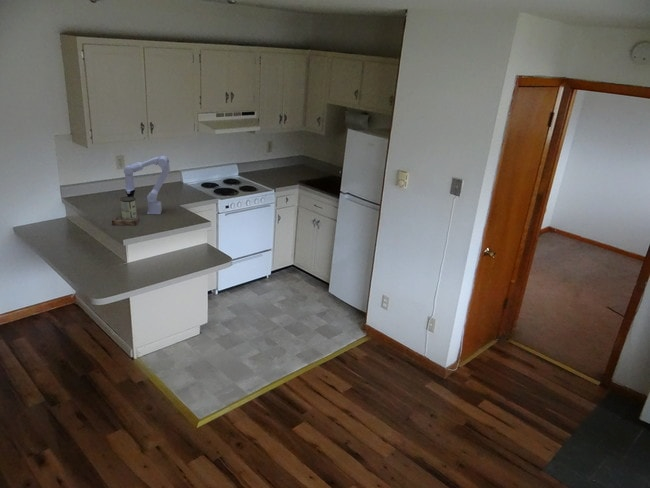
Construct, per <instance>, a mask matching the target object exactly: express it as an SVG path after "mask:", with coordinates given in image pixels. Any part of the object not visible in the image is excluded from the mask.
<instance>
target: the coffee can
mask: <svg viewBox="0 0 650 488" xmlns="http://www.w3.org/2000/svg"><path fill="white" fill-rule="evenodd" d="M119 200H120V209H121V218H122V220H135V218H136V217H137V216H138V213H137V201H136V197H135V196H134V197H132V196H127V195H126V196H122V197H120V198H119Z"/></svg>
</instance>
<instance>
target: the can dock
mask: <svg viewBox="0 0 650 488" xmlns="http://www.w3.org/2000/svg"><path fill="white" fill-rule="evenodd" d="M118 217H119V216H118V215H114V218H113V219H112V220H111V225H112V226H137V225H138V223H139V221H140V216H138V215H137V217H136V218H134V219H122V220H121V219H120V220H119V218H118Z"/></svg>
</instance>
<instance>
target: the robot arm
mask: <svg viewBox="0 0 650 488" xmlns="http://www.w3.org/2000/svg"><path fill="white" fill-rule="evenodd" d="M151 165H155V166H159V167H160V168H161V169H160V170H161V171H162V172H161V173H160V175H159V177H158V179H156V182H155V184H154V186H153V187H152V189H151V191H149V193H148V194H147V196H146V200H147V213H146V214H147V215H161V213H162V211H163V210H162V209H163V208H162V201H159V200H158V199H157V198H158V195H159V192H160V190H161V188H162V186H163V184H164V182H165V180H166V179H167V177H168V175H169V173H170V170H171V168H170V167H171V166H170V160H169V158H168V156H166V155H162V154H161V155H160V156H155V157H153V158H150V159H148V160H146V161H143V162H142V161H135V162H134V163H132V164H128V165H125V167H124V168H123V173H124V179H125V180H124V181H125V187H124V188H123V189H124V190H126V191H125V194H126V196H132V197H135V193H136V188H135V181H134V179H135V178H134V173H137V172H139V171H142V170H143V169H144V168H145V167H148V166H151Z"/></svg>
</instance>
